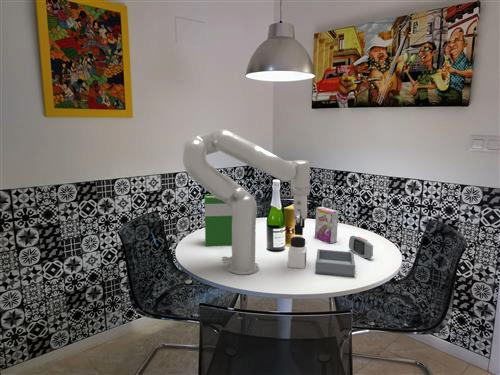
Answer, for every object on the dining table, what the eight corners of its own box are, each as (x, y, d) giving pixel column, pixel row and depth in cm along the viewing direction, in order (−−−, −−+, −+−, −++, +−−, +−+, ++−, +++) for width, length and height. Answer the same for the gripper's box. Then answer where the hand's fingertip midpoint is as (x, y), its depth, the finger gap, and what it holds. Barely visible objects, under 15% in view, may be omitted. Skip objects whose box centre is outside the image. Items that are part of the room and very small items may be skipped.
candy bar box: (314, 238, 190) (315, 207, 187) (321, 236, 193) (322, 206, 190) (330, 244, 181) (331, 212, 178) (337, 242, 184) (338, 210, 181)
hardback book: (240, 240, 186) (240, 193, 181) (242, 245, 179) (242, 197, 174) (205, 241, 184) (204, 194, 179) (205, 246, 176) (204, 197, 172)
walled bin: (315, 273, 146) (315, 261, 145) (317, 260, 161) (317, 249, 160) (354, 277, 143) (355, 265, 142) (352, 263, 157) (353, 252, 157)
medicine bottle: (305, 268, 151) (306, 241, 149) (287, 267, 152) (288, 239, 150) (306, 262, 158) (307, 235, 156) (289, 261, 159) (290, 234, 157)
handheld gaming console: (347, 250, 173) (348, 234, 172) (352, 249, 174) (353, 233, 173) (368, 261, 160) (370, 243, 159) (374, 260, 161) (375, 242, 160)
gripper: (307, 195, 140) (307, 238, 143) (310, 187, 157) (310, 225, 160) (288, 194, 142) (288, 237, 145) (293, 186, 158) (292, 224, 162)
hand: (299, 231), depth 153 cm, fingers open, 9 cm apart
